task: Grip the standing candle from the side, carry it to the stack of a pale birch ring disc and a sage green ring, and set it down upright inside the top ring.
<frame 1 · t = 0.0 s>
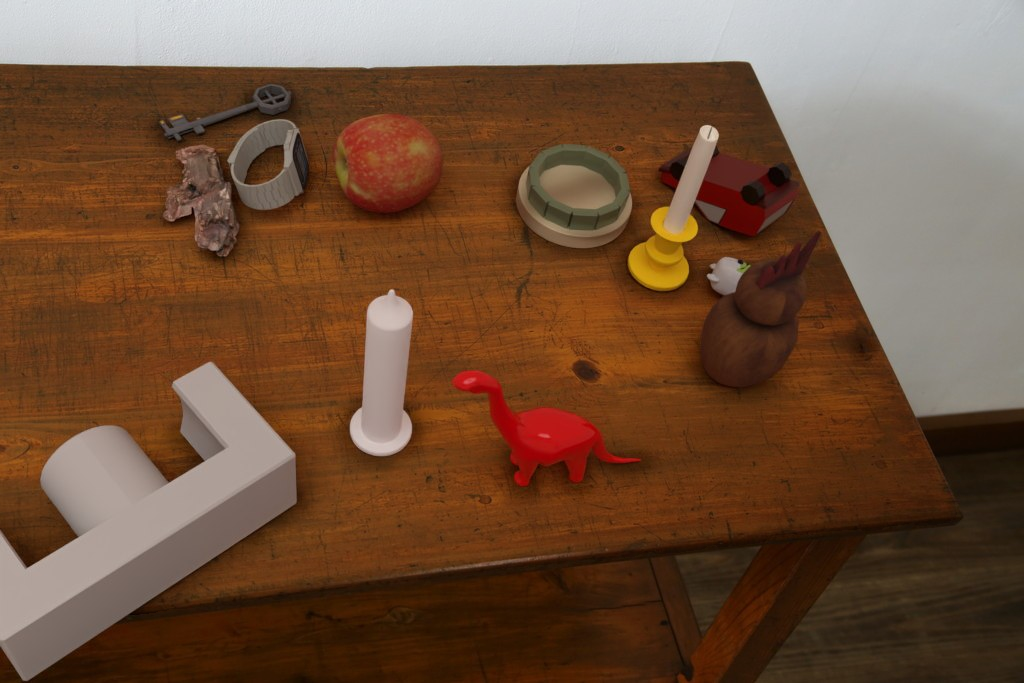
candle 2: (656, 269, 87), on the table
key: (219, 100, 91), on the table
apple: (386, 198, 88), on the table
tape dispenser: (131, 535, 66), on the table
tree bark: (169, 188, 82), point 2 cm above the table
candle: (380, 431, 74), on the table
wooden figurine: (730, 369, 82), on the table
wristwatch: (269, 182, 87), on the table
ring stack: (572, 206, 90), on the table
dinosaur: (539, 471, 74), on the table
toy: (880, 347, 83), point 2 cm above the table
toy truck: (726, 159, 90), point 5 cm above the table
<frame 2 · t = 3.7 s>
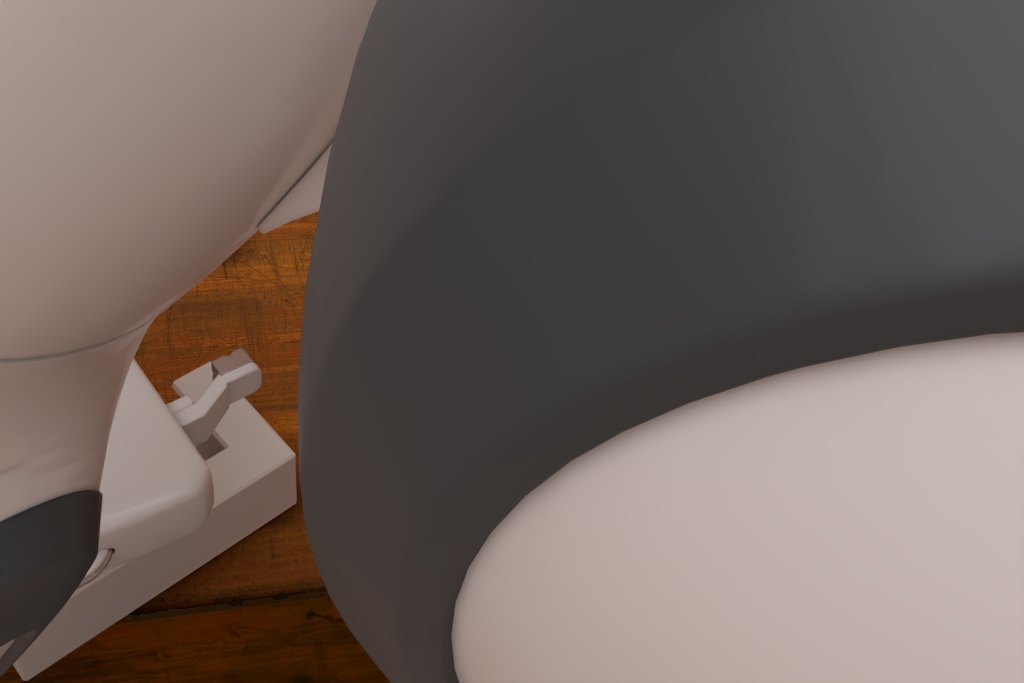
hand: (203, 299, 50), 23 cm above the table, tool horizontal, fingers open, 8 cm apart
nothing on the table moved.
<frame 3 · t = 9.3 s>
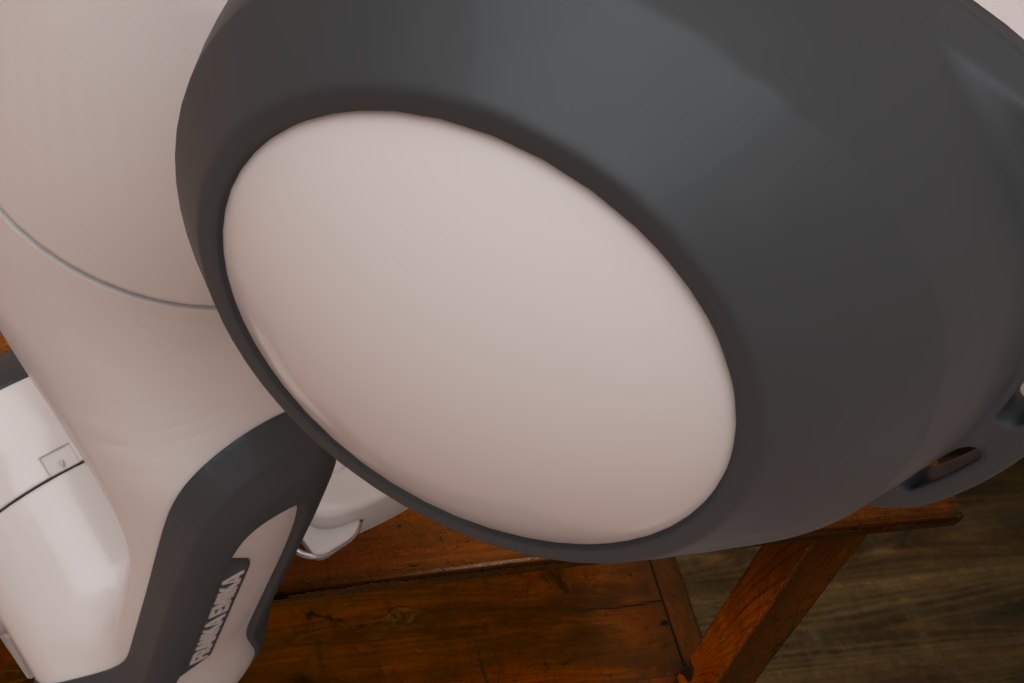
hand: (394, 331, 65), 11 cm above the table, tool horizontal, fingers closed on candle, 3 cm apart
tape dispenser: (135, 533, 66), on the table, touching arm
candle: (381, 431, 74), on the table, touching gripper
everything else where it was.
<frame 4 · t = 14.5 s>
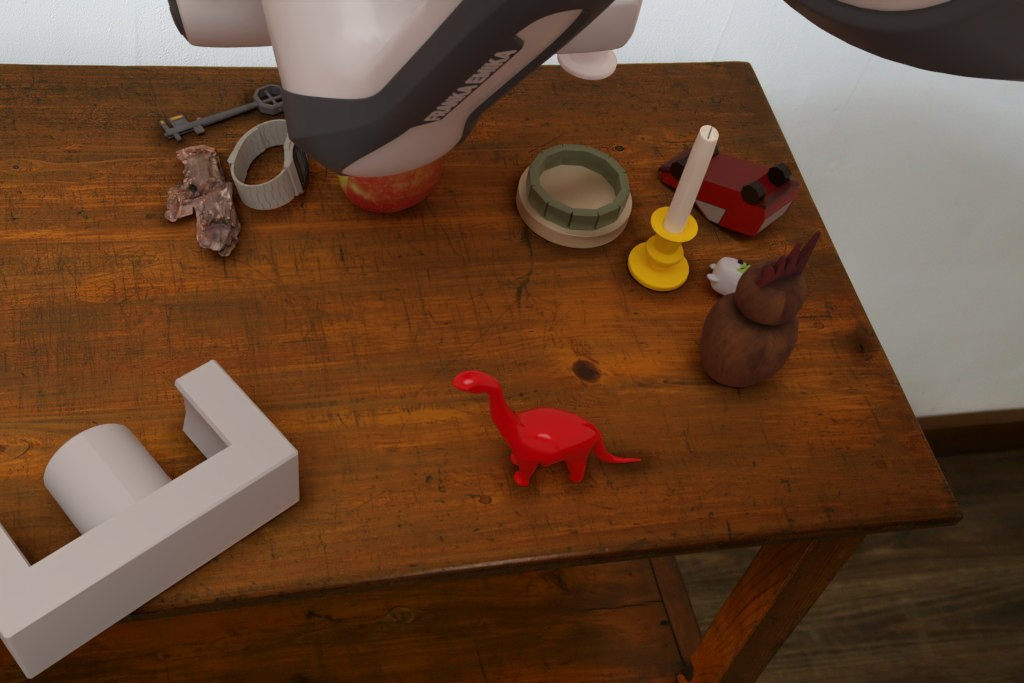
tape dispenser: (135, 533, 66), on the table
candle: (585, 63, 76), point 17 cm above the table, touching gripper
everything else where it was.
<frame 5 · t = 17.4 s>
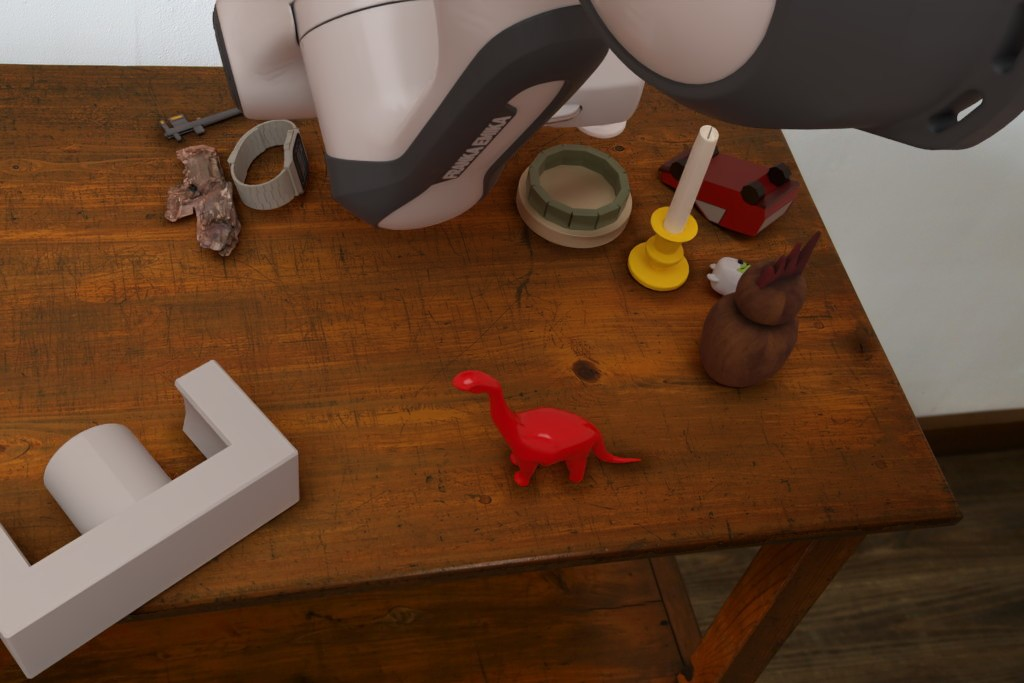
hand: (636, 0, 74), 21 cm above the table, tool horizontal, fingers closed on candle, 3 cm apart
candle: (598, 122, 83), point 9 cm above the table, touching gripper
everything else where it was.
when the fingers open (13 cm above the table, at t = 19.8 s): candle stays where it is, resting on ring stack.
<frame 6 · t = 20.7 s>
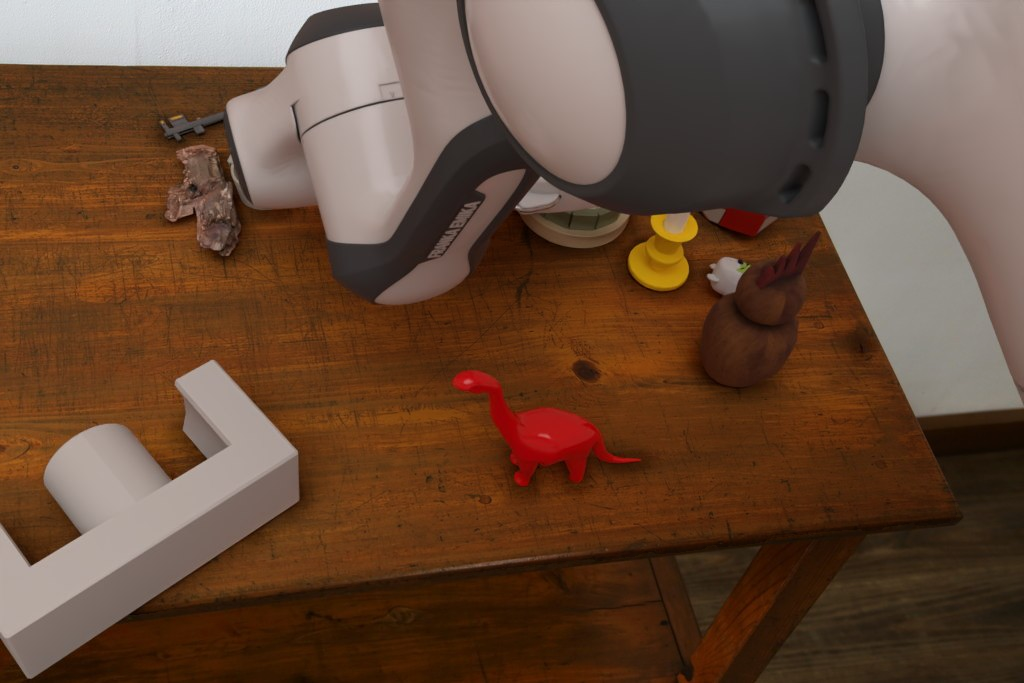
hand: (613, 88, 81), 13 cm above the table, tool horizontal, fingers open, 8 cm apart
candle: (578, 194, 89), point 1 cm above the table, touching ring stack
everything else where it was.
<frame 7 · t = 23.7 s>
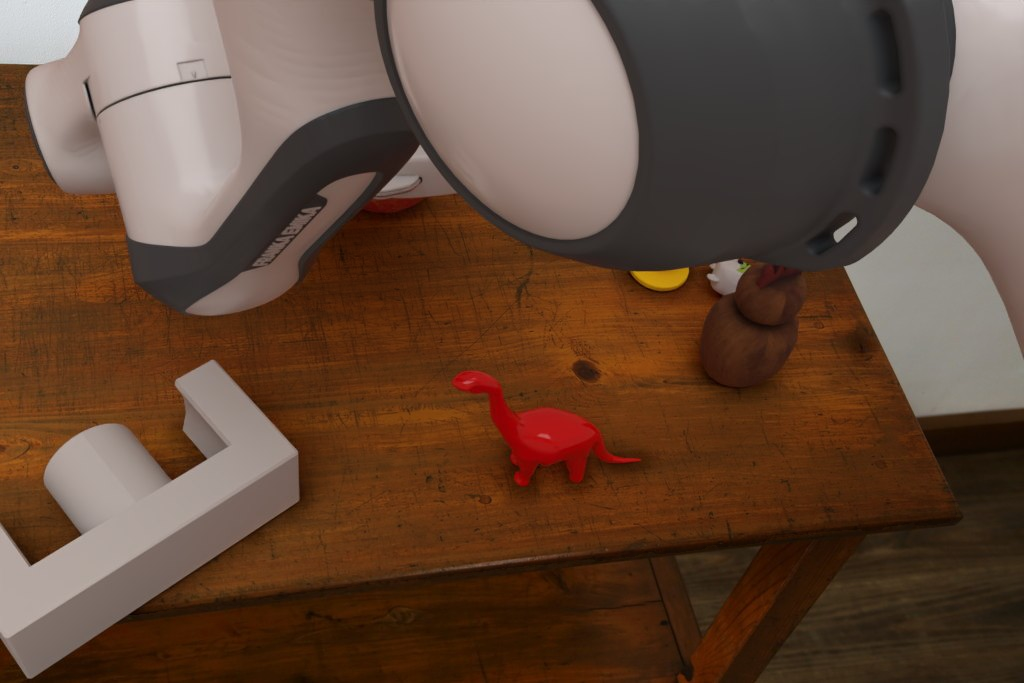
hand: (497, 59, 71), 19 cm above the table, tool horizontal, fingers open, 8 cm apart
nothing on the table moved.
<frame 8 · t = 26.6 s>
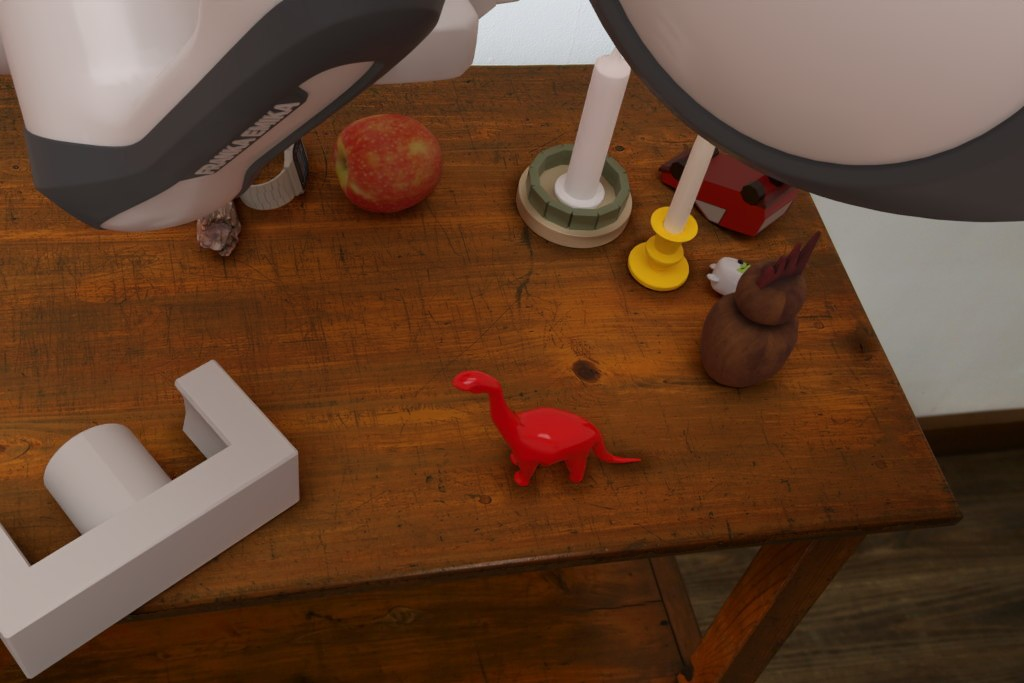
nothing on the table moved.
at the end: candle 0.3 cm off-centre on the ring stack, point 1.3 cm above the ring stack's base; candle tilted 0°; the gripper is holding nothing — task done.
